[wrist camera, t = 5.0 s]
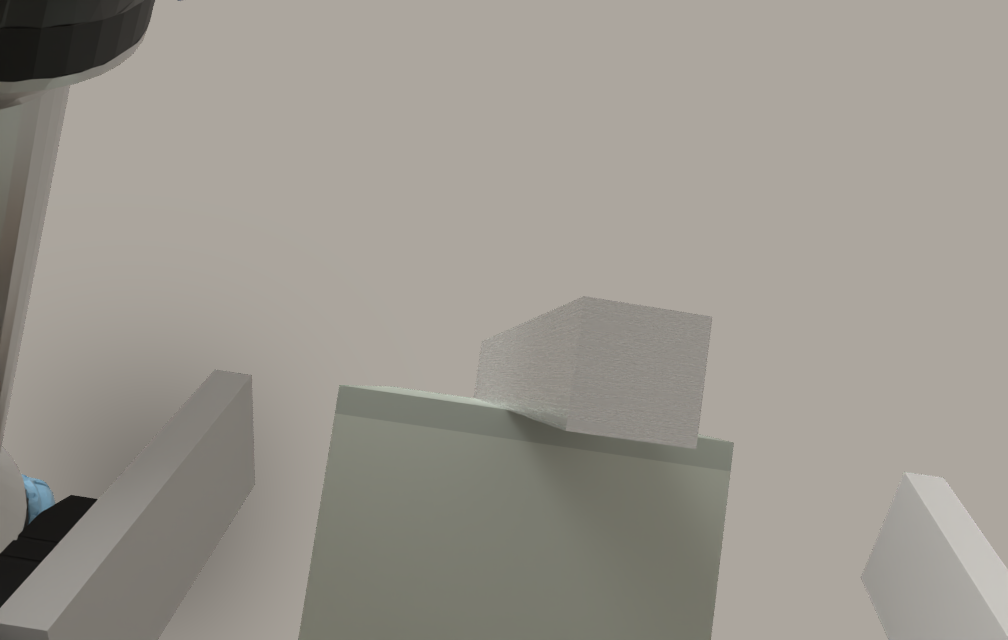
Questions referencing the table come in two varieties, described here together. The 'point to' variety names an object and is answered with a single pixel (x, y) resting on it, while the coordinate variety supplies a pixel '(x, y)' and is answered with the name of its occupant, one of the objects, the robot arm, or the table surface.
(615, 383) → the rail bar
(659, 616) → the pedestal
